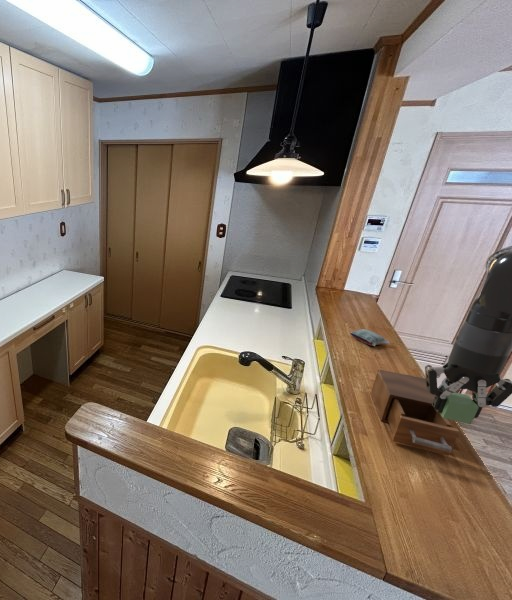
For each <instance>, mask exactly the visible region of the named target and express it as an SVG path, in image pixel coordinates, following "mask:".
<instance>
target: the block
mask: <svg viewBox="0 0 512 600" xmlns="http://www.w3.org/2000/svg"><path fill="white" fill-rule="evenodd" d="M446 400H447V401H446V404H445V406H444V408H443V411H442V413H440V414H441V416H442V417H443V418H445V419H448V421H449V420H450V421H454V422H458V423H462V424H467V425H472V424H473V421H474V420H473V419H475V418H474V417H475V415H476V412H477V410H478V408H479V407H478V406H477V404H476V403H475V402H474V401H473V399H472V396H470V395H469V394H465V393H460V392H455V393H452V394H451V395H450V396H449V397H448V398H447V399H446Z"/></svg>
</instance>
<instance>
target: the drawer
mask: <svg viewBox="0 0 512 600" xmlns="http://www.w3.org/2000/svg"><path fill="white" fill-rule="evenodd" d="M386 417H387V419H388V422H389V423H388V424H389V427H390V428H391V431H392V436H391V441H392V442H395V443H398V444H403V445H406V446H410V447H414V448H416V449H417V448H418V449H422V450H425V451H429V452H433V453H437V454H440V455H444V456H447V457H450V454H451V453H452V452H453V447H454V445H455V444H456V441H457V439H458V437H459V435H460V430H459V429H458V428H456V427H452V423H451V422H450V421H449V419H445V418H443V417H442V416H441V414H440V413H439V412H436V410H435V409H434V407H433V406H429V405H425V404H420V403H416V402H411V401H407V400H402V399H398V398H393V397H392V400H391V403H390V406H389V409H388V412H387V415H386Z"/></svg>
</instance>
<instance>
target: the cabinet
mask: <svg viewBox="0 0 512 600" xmlns="http://www.w3.org/2000/svg"><path fill="white" fill-rule="evenodd" d="M376 372H377V373H376V375H375V379H374V382H373V385H372V388H371V392H370V396H371V399H372V402H373V401H374V402H373V405H374V407H375V410H376V412H377V415H378V417H379V420H380V422H383V423H387V424H389V422H388V419H387V417H386V415H387V412H388V409H389V406H390V403H391V400H392V397H393V398H398V399H402V400H407V401H411V402H416V403H420V404H425V405H429V406H432V402H433V399H434V397H435V395H433V394H431V393H430V392H429V390H428V389H427V387H426V377H425V378H424V377H420V376H415V375H409V374H405V373H398V372H394V371H388V370H383V369H378V370H377V371H376Z"/></svg>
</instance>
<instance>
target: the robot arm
mask: <svg viewBox="0 0 512 600" xmlns="http://www.w3.org/2000/svg"><path fill="white" fill-rule="evenodd" d="M484 269H485V271H486V278H485V281H484V284H483V286H482V288H481V291H480V293H479V295H478V296H476V297H475V299H474V300H473V302H472V303H471V305H470V307H469V310H468V313H467V315H466V318H465V320H464V322H463V324H462V326H461V327H460V328H459V331H458V333H457V335H456V337H455V341H454V344H453V346H452V349H451V352H450V353H449V356H448V359H447V362H446V363H445V364H443V365H442V366H436V367H435V366H432V365H430V364H427V365H425V366H424V372H425V373H424V374H425V379H426V387H427V389H428V390H429V392H430V393H431V394H433V395H435V397H434V399H433V402H432V406H433V407H434V409H435V410H436V412H439V413H442V411H443V408H444V406H445V404H446V401H447V400H446V399H447V398H448V397H449V396H450V395H451V394H452V393H457V391H459V390H468V391H470V392H471V399H472V400H473V401H474V402H475V403H476V404H477V406H478V407H479V408H478V410H477V412H476V415H475V417H474V419H478V418H479V417H480V414H481V412H482V410H483V408H484V407H486V406H487V407H488V406H491V407H493V408H497V407H499V406H500V405H501V404H502V403H504V401H506V400H507V399H508V398H509V397H510V396H511V395H512V380H511V379H509V378H502V377H501V376H500V374H501V373H502V372H503V370H504V367H505V365H506V363H507V361H508V359H509V357H510V355H511V352H512V245H510V246H506V247H503V248H500V249H499V250H497V251H495V252H493V253H492V254H491V255H489V257H487V259H486V261H485V265H484ZM443 374H444V375H445V378H444V379H443V380H442V381H441V384H440V385H438V379H439V378H440V377H441V376H442V375H443ZM494 385H495V387H493V388H492V389H491V390H490V391H489V392H488V393H487V388H489V387H492V386H494ZM474 419H473V421H474Z"/></svg>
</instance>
